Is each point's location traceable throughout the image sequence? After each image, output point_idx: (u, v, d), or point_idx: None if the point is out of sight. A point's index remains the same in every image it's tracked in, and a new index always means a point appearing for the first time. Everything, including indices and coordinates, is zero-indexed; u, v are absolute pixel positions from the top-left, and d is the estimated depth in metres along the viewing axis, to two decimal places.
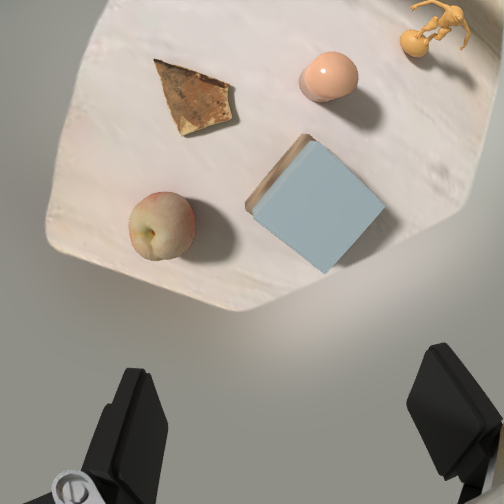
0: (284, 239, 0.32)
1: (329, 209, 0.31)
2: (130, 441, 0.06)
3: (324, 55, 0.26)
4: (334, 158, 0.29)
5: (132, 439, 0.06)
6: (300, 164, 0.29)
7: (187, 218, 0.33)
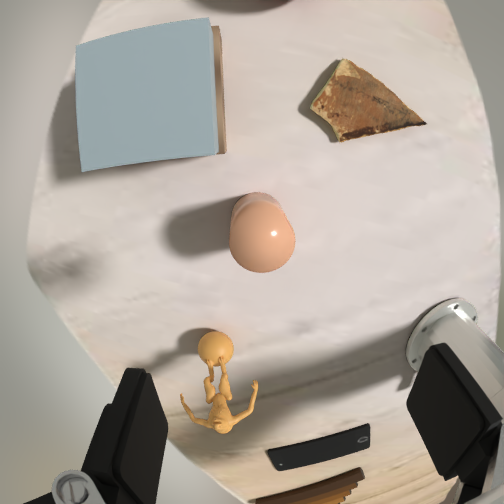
0: (153, 28, 0.16)
1: (134, 101, 0.18)
2: (130, 441, 0.06)
3: (289, 250, 0.24)
4: (180, 154, 0.20)
5: (132, 439, 0.06)
6: (210, 112, 0.19)
7: None
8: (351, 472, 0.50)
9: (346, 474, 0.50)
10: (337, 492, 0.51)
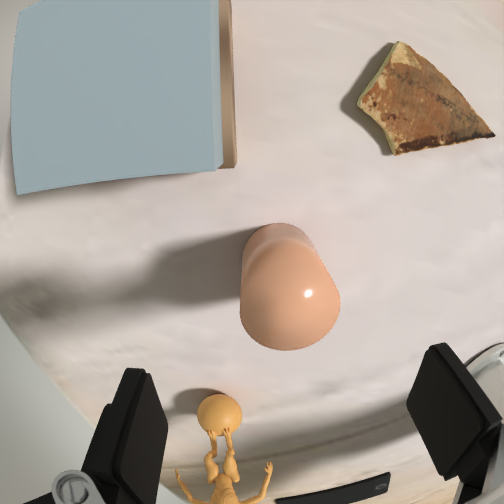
0: None
1: (86, 82, 0.10)
2: (130, 441, 0.06)
3: (330, 321, 0.15)
4: (157, 170, 0.11)
5: (132, 439, 0.06)
6: (209, 96, 0.10)
7: None
8: None
9: None
10: None
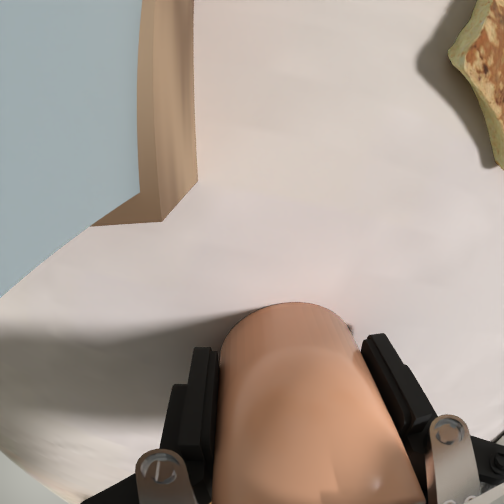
0: None
1: None
2: (212, 414, 0.07)
3: None
4: None
5: (212, 412, 0.07)
6: None
7: None
8: None
9: None
10: None
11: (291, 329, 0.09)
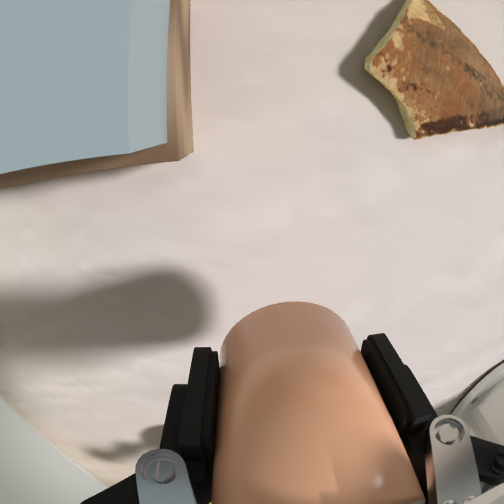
0: None
1: None
2: (212, 414, 0.07)
3: None
4: (38, 157, 0.05)
5: (212, 412, 0.07)
6: (126, 20, 0.04)
7: None
8: None
9: None
10: None
11: (291, 328, 0.09)
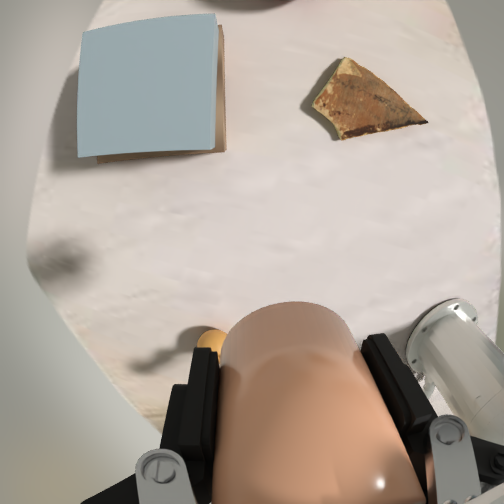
0: (159, 20, 0.16)
1: (135, 91, 0.18)
2: (212, 414, 0.07)
3: None
4: (176, 147, 0.20)
5: (212, 412, 0.07)
6: (209, 107, 0.19)
7: None
8: None
9: None
10: None
11: (291, 328, 0.09)
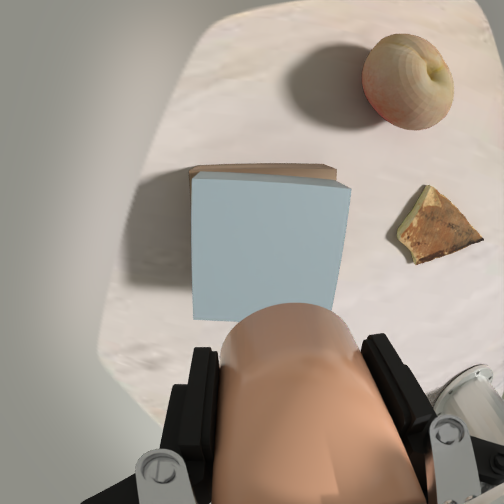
0: (292, 187, 0.19)
1: (262, 266, 0.21)
2: (212, 414, 0.07)
3: None
4: None
5: (212, 412, 0.07)
6: (334, 288, 0.21)
7: (400, 114, 0.19)
8: None
9: None
10: None
11: (291, 329, 0.09)
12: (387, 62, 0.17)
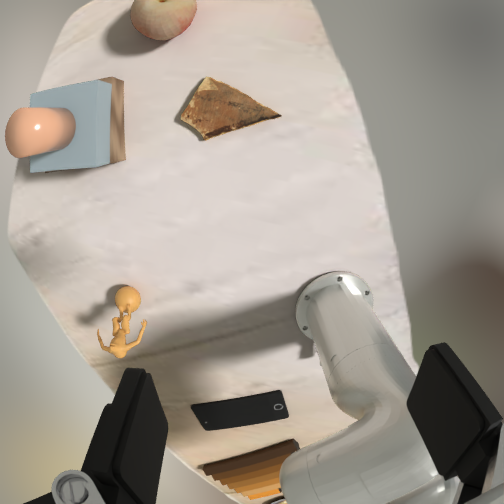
0: (69, 87, 0.26)
1: None
2: (130, 441, 0.06)
3: (35, 138, 0.22)
4: (79, 166, 0.30)
5: (132, 439, 0.06)
6: (95, 141, 0.29)
7: (143, 30, 0.27)
8: (285, 443, 0.60)
9: (280, 444, 0.60)
10: (275, 463, 0.60)
11: None
12: (133, 4, 0.24)
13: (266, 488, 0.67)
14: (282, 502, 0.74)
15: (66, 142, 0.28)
